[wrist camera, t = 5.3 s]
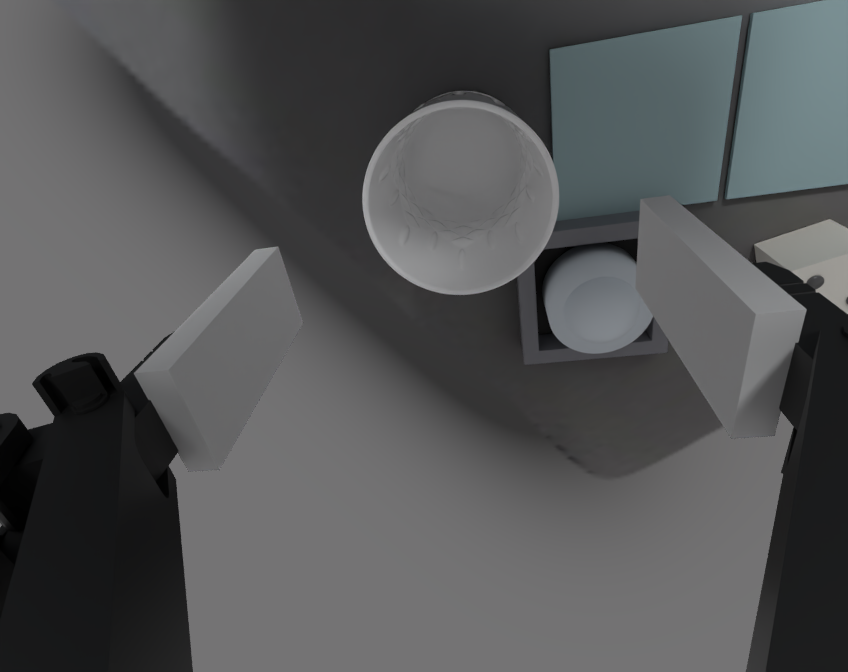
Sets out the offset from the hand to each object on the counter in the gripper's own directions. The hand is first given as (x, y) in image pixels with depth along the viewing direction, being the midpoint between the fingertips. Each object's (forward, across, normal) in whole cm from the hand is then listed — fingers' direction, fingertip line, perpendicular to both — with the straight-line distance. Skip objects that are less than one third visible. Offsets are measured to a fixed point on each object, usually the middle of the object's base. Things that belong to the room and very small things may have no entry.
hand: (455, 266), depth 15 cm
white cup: (+16, 0, 0) cm, 16 cm away
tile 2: (+16, +19, 0) cm, 25 cm away
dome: (+15, +7, -9) cm, 19 cm away
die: (+16, +19, -9) cm, 26 cm away
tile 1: (+16, +10, 0) cm, 19 cm away
